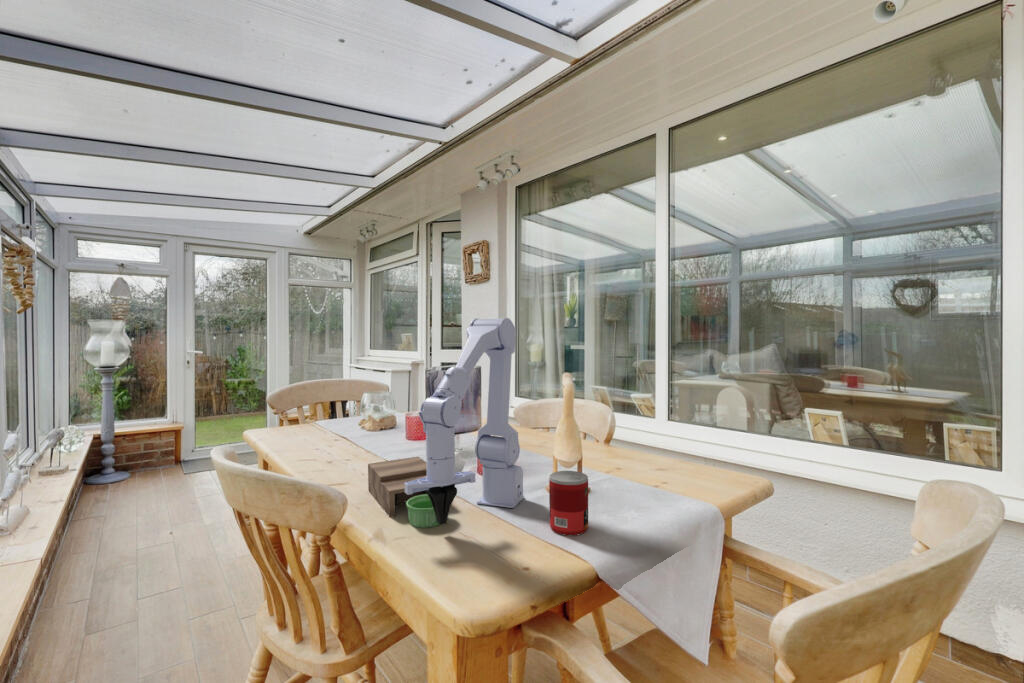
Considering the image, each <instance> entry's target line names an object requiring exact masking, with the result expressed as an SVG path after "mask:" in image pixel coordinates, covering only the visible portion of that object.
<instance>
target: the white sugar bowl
mask: <svg viewBox="0 0 1024 683" xmlns="http://www.w3.org/2000/svg"><path fill="white" fill-rule="evenodd" d="M465 462H466V461H465V460H464V459H463V457H461V453H460V452H458V451H455V472H463V470H464V467H465V464H466V463H465Z"/></svg>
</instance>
